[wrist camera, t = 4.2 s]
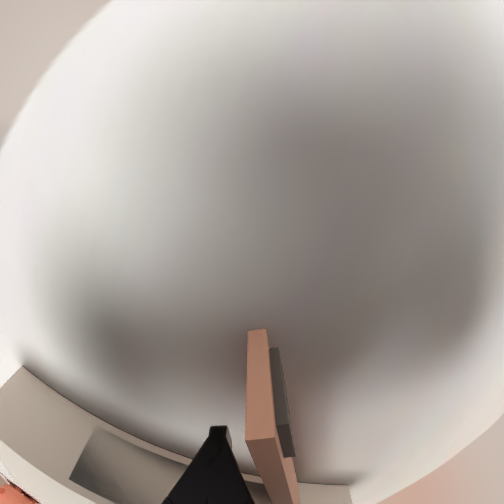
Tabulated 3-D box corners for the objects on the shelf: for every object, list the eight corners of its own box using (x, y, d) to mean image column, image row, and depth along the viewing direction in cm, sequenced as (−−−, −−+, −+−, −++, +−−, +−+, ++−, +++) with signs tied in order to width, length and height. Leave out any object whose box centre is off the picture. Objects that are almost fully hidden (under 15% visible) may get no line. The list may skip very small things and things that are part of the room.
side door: (287, 484, 12) (293, 543, 8) (248, 331, 9) (245, 440, 5) (302, 482, 12) (310, 541, 8) (274, 326, 9) (289, 434, 5)
